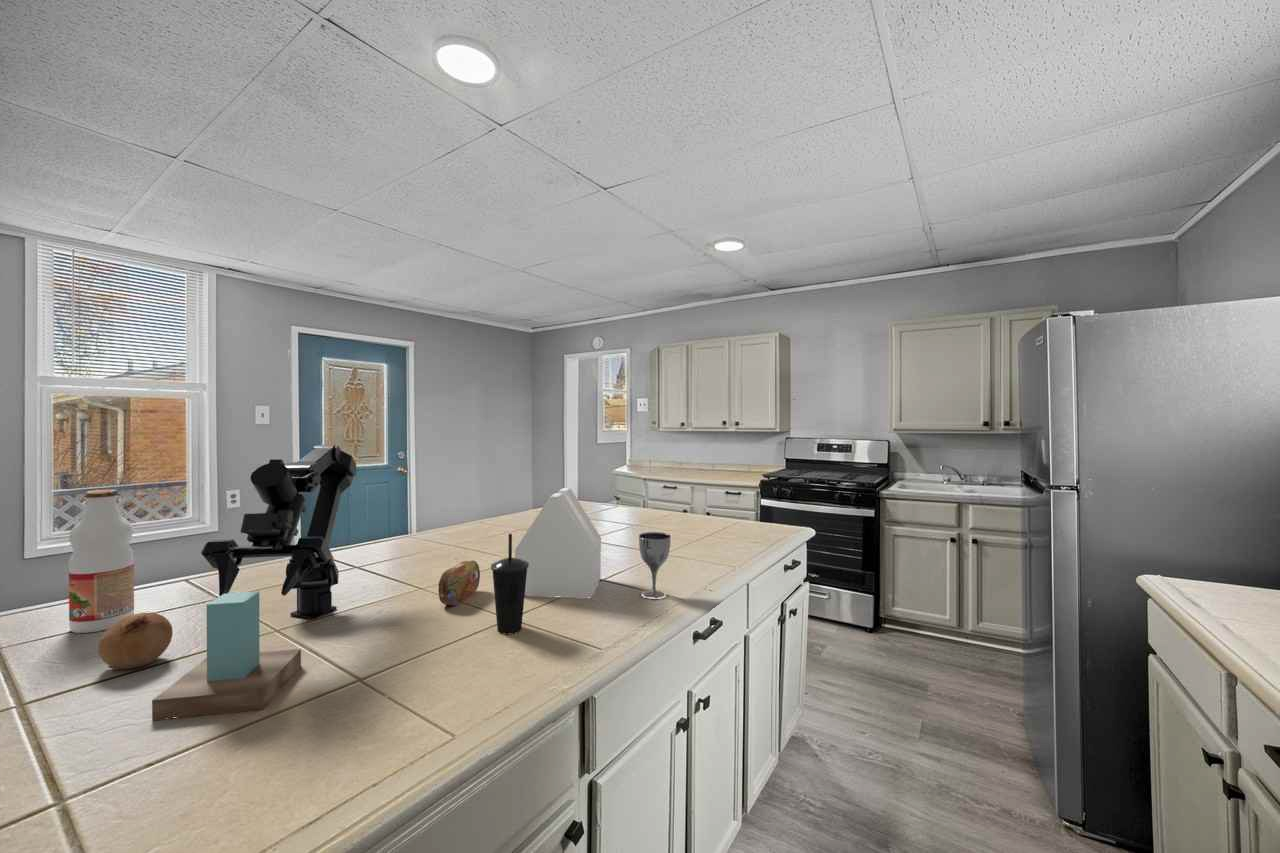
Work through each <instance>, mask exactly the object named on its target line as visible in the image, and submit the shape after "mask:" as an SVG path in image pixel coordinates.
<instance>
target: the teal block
mask: <svg viewBox="0 0 1280 853" xmlns="http://www.w3.org/2000/svg"><path fill="white" fill-rule="evenodd" d="M259 652H260V591H248V592H247V591H245V592H243V591H242V592H229V593H226V594H223V595H221V596H220V597H216V598H215V599H213V600H212V601H210V602H208V603H207V604H206V658H207V681H218V680H229V679H240V678H245V677H246V676H247V675H248V674H249V673H250V672H251V671H252V670H253V669H254V668H255V667H256V666H257V665H258V664H259V663H260V655H259Z"/></svg>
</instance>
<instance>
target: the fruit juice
mask: <svg viewBox="0 0 1280 853" xmlns="http://www.w3.org/2000/svg"><path fill="white" fill-rule="evenodd" d="M83 494H84V495H83V498H84V500H85V501H86V506H85V510H84V513H83V515H82V517H81V519H80V520H79V522H77V523H76V524H75V525H74V526H73V528H72V529H71V530H70V532H69V543H70V545H71V547H72V553H71V555H70V557H69V560H68V627H69V630H70V631H71V632H72V633H75V634H76V633H77V634H88V633H89V632H90V633H95V632H102V631H101V630H103V631H107V630H108V629H109V628H110V627H111V626H112V625H113V624H115V623H116V622H117V621H119V620H121V619H123V618H125V617H128V616H130V615H134V614H135V577H134V576H135V575H134V574H135V570H134V568H135V559H134V557H135V556H134V551H133V549H132V547H131V545H130V542H131V541H132V540H131V539H132V537H133V532H134V531H133V526H132V524H131V522H130V521H128V520H127V519H126V518H125V517H124V516H123V515H122V513H121V512H120V509H119V508H118V507H119V506H118V503H117V499H118V498H119V496H120V495H119V490H117V489H97V490H96V489H95V490H89V491H85V492H84V493H83Z"/></svg>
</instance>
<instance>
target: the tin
mask: <svg viewBox="0 0 1280 853" xmlns="http://www.w3.org/2000/svg"><path fill="white" fill-rule="evenodd" d="M480 579H481V571H480V567H479V564H478V563H477V561H476V560H465V561H464V560H463V561H461V562H460V563H457V564H456V565H454V566H452V567H450V568H449V569H446V570H445V571H444V572H443V573H442V574H441V576H440V578H439V582H438V596H439V597H438V598H439V599H438V600H439V602H441V603H442V605H445V606H453V607H454V606H458V605H459V604H461V603H462V602H463V601H465V600H467V599H469V597H471V596H473V595H474V594H475V593H476V591H477V590H478V587H479V584H480Z"/></svg>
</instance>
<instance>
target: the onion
mask: <svg viewBox="0 0 1280 853" xmlns="http://www.w3.org/2000/svg"><path fill="white" fill-rule="evenodd" d="M173 633H174V632H173V626H172V623H171V622H170V621H169V620H168V618H166V617H165V616H164V615H161V614H158V613H155V612H151V611H150V612H140V613H134V615H130V616H128V617H125V618H123V619H121V620H119V621H117V622H116V623H115V624H113V625H112V626H111V627H110V628H109V629H107V630H105V632H103V634H102V636H101V638H100V640H99V643H98V650H97V651H98V654H99V657H100V659H101V660H102V661H103V662H104V663H105V664H106V665H108V666H107V668H108V669H113V670H115V669H116V670H117V669H118V670H132V669H133V670H134V669H137V668H141V667H143V666H147V665H149V664H151V663H153V662H155V660H156V659H158V658H159V657H160V656H161V655H162V654H164V652H165V651H166V650H167V649H168V646H169V645H170V643H171V642H172V639H173Z"/></svg>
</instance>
